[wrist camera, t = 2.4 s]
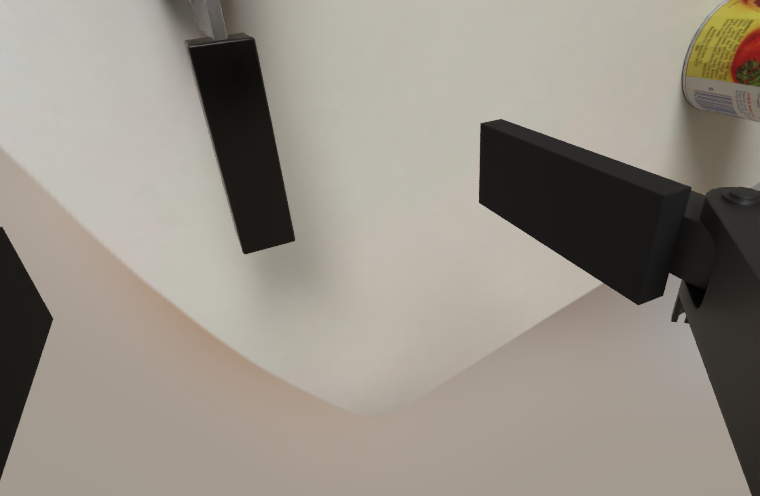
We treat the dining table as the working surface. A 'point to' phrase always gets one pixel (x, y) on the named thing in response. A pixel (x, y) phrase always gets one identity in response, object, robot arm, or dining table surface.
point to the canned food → (726, 62)
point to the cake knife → (240, 129)
